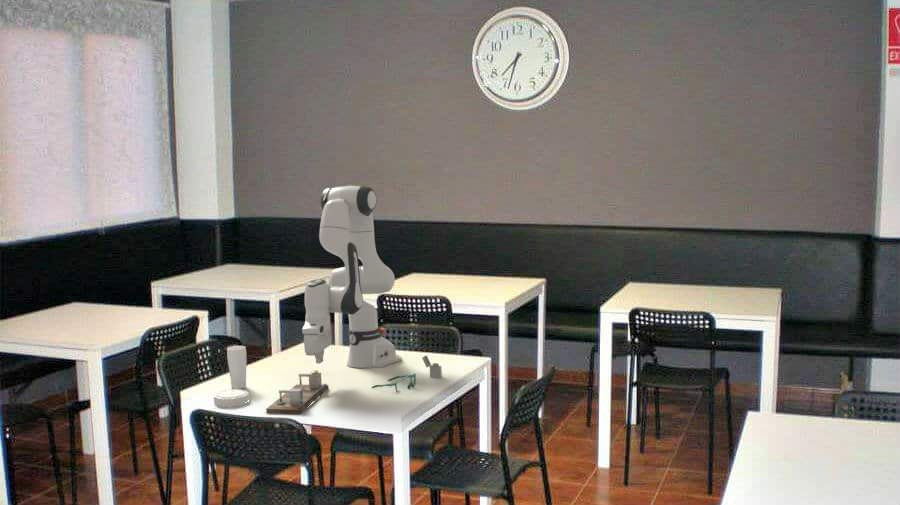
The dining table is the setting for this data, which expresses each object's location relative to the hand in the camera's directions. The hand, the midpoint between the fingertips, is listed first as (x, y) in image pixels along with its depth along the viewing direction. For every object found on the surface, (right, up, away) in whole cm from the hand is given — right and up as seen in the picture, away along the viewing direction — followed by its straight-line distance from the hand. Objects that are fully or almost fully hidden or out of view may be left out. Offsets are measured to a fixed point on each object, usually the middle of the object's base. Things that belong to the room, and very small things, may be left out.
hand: (319, 362), depth 359 cm
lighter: (+41, -7, +11) cm, 43 cm away
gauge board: (-5, -12, -15) cm, 20 cm away
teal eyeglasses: (+28, -9, 0) cm, 29 cm away
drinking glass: (-30, -10, +4) cm, 32 cm away
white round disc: (-29, -13, -14) cm, 34 cm away
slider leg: (-3, -8, -5) cm, 10 cm away
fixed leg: (-4, -10, -16) cm, 19 cm away
